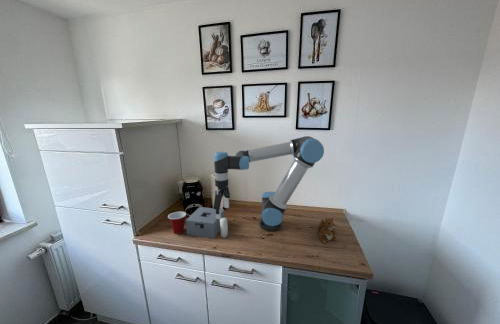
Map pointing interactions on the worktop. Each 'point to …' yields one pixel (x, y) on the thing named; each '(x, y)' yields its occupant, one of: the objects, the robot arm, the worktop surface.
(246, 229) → the worktop surface
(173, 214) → the plastic cup
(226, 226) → the peg
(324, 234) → the stuffed squirrel
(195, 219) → the socket block
